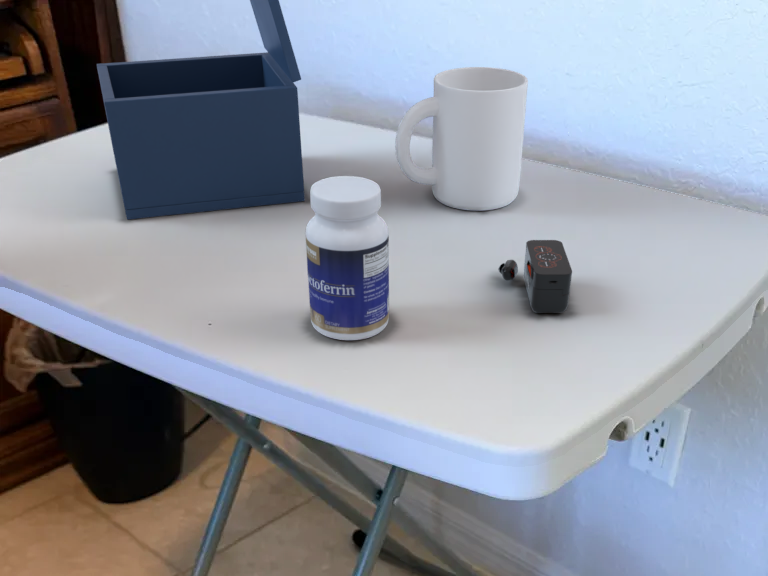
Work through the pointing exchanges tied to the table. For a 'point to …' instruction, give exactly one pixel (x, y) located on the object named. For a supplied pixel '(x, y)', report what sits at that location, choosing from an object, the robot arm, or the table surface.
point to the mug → (470, 137)
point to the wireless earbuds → (543, 275)
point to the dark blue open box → (203, 133)
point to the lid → (276, 35)
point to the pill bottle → (347, 259)
